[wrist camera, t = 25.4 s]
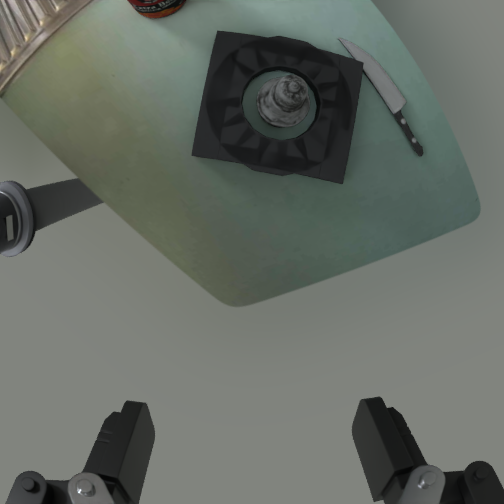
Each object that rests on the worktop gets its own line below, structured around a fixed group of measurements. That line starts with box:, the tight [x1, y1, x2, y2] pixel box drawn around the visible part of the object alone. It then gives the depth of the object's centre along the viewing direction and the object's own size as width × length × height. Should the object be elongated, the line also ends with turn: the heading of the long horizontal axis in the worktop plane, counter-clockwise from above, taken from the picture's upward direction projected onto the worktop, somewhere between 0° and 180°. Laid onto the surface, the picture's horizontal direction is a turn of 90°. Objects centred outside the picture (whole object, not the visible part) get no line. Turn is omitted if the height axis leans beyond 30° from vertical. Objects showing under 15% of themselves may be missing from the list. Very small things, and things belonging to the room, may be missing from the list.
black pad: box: [192, 31, 364, 184], centre depth 33 cm, size 18×17×2 cm
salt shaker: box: [257, 75, 310, 127], centre depth 29 cm, size 6×6×12 cm
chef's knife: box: [339, 38, 423, 156], centre depth 33 cm, size 19×1×3 cm
